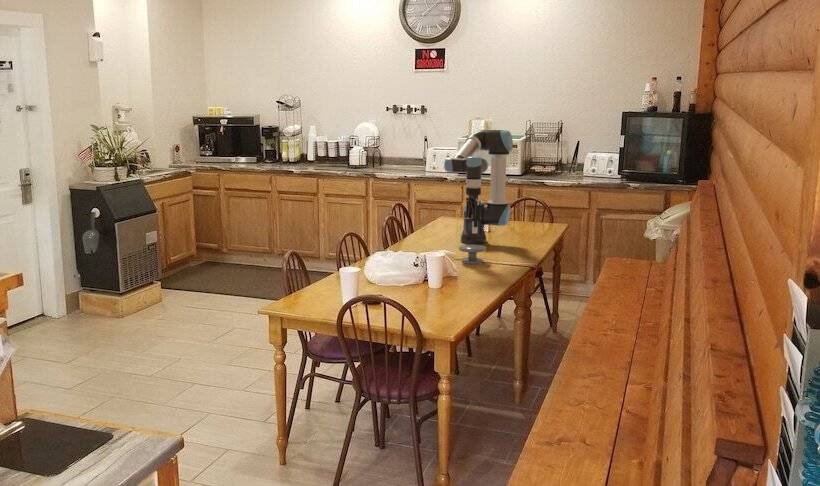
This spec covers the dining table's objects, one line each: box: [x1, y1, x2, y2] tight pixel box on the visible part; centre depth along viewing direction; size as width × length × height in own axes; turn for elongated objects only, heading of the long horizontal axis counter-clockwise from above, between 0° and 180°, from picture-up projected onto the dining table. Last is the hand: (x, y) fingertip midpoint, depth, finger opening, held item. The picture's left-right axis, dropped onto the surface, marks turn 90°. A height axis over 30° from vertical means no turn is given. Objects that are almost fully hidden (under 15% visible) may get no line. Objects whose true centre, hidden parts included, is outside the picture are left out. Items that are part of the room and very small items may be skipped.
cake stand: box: [458, 244, 487, 265], centre depth 381 cm, size 14×14×8 cm
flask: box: [463, 215, 482, 236], centre depth 377 cm, size 9×3×11 cm, turn 80°
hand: (472, 232), depth 378 cm, fingers closed on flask, 5 cm apart
